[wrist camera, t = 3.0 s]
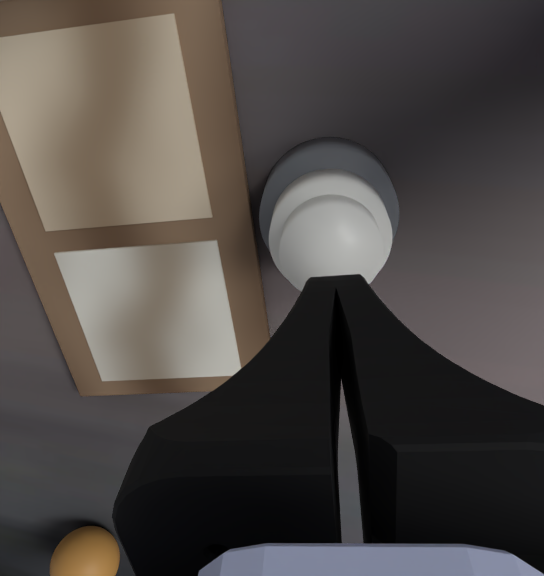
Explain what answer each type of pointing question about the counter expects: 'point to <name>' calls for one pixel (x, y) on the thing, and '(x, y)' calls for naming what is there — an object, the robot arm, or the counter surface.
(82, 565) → the figurine
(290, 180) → the dome base
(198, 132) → the game board
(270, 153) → the counter surface
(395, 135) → the counter surface
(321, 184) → the dome
